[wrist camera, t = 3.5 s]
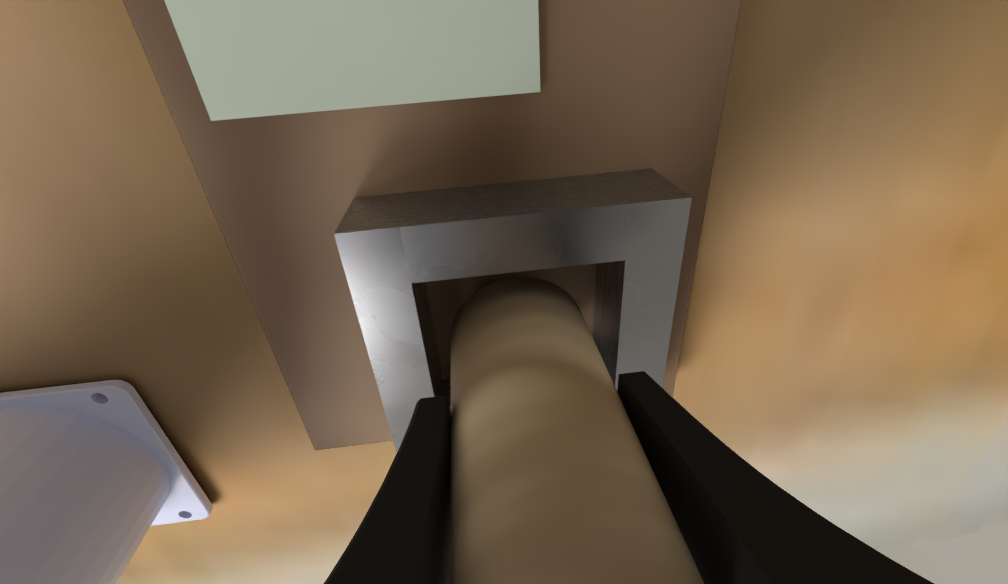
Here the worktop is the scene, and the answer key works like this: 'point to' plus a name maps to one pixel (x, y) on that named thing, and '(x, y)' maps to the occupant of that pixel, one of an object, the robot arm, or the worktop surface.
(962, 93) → the worktop surface
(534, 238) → the grey square frame
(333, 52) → the pad
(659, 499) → the maple peg
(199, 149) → the walnut board
